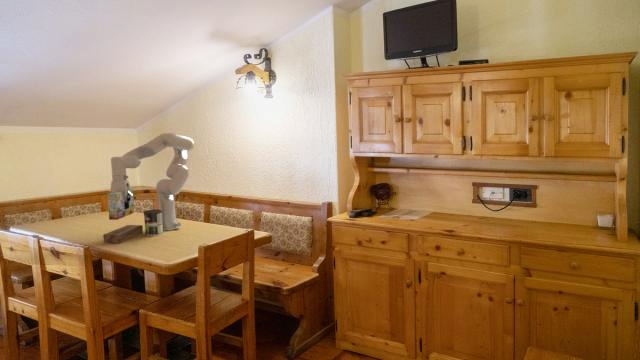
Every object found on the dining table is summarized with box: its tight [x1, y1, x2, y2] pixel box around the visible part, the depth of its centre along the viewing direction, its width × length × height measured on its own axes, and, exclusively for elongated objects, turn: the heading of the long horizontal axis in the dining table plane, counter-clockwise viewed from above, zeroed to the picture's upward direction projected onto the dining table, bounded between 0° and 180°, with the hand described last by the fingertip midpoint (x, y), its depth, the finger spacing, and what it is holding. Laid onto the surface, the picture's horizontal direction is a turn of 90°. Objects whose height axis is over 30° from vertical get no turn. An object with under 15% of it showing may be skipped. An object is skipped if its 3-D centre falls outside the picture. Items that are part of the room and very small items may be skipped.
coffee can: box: [143, 209, 164, 237], centre depth 275 cm, size 10×10×14 cm
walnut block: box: [102, 224, 144, 245], centre depth 266 cm, size 10×24×5 cm, turn 171°
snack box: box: [107, 188, 135, 221], centre depth 264 cm, size 21×6×15 cm, turn 179°
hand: (121, 208), depth 264 cm, fingers closed on snack box, 6 cm apart
